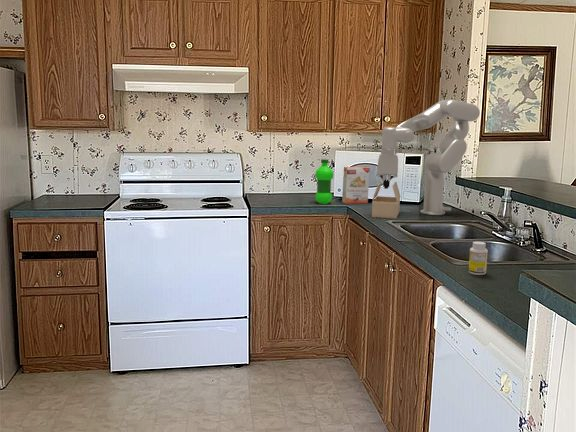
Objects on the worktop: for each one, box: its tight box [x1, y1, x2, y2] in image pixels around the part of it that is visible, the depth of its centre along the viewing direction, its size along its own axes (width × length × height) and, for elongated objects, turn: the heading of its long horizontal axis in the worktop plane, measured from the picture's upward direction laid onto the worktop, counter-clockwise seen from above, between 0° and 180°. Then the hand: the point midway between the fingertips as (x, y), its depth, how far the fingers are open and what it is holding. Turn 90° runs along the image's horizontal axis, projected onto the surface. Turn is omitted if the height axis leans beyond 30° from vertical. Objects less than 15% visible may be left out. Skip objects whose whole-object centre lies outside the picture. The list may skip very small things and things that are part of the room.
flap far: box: [372, 180, 383, 201], centre depth 300 cm, size 8×18×1 cm
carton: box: [371, 195, 401, 220], centre depth 300 cm, size 12×21×8 cm, turn 165°
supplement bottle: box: [468, 241, 489, 276], centre depth 191 cm, size 6×6×10 cm
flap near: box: [392, 181, 401, 201], centre depth 297 cm, size 8×18×1 cm
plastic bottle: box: [314, 158, 334, 205], centre depth 333 cm, size 10×10×25 cm
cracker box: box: [341, 166, 371, 205], centre depth 336 cm, size 14×6×21 cm, turn 105°
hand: (386, 188), depth 298 cm, fingers closed
